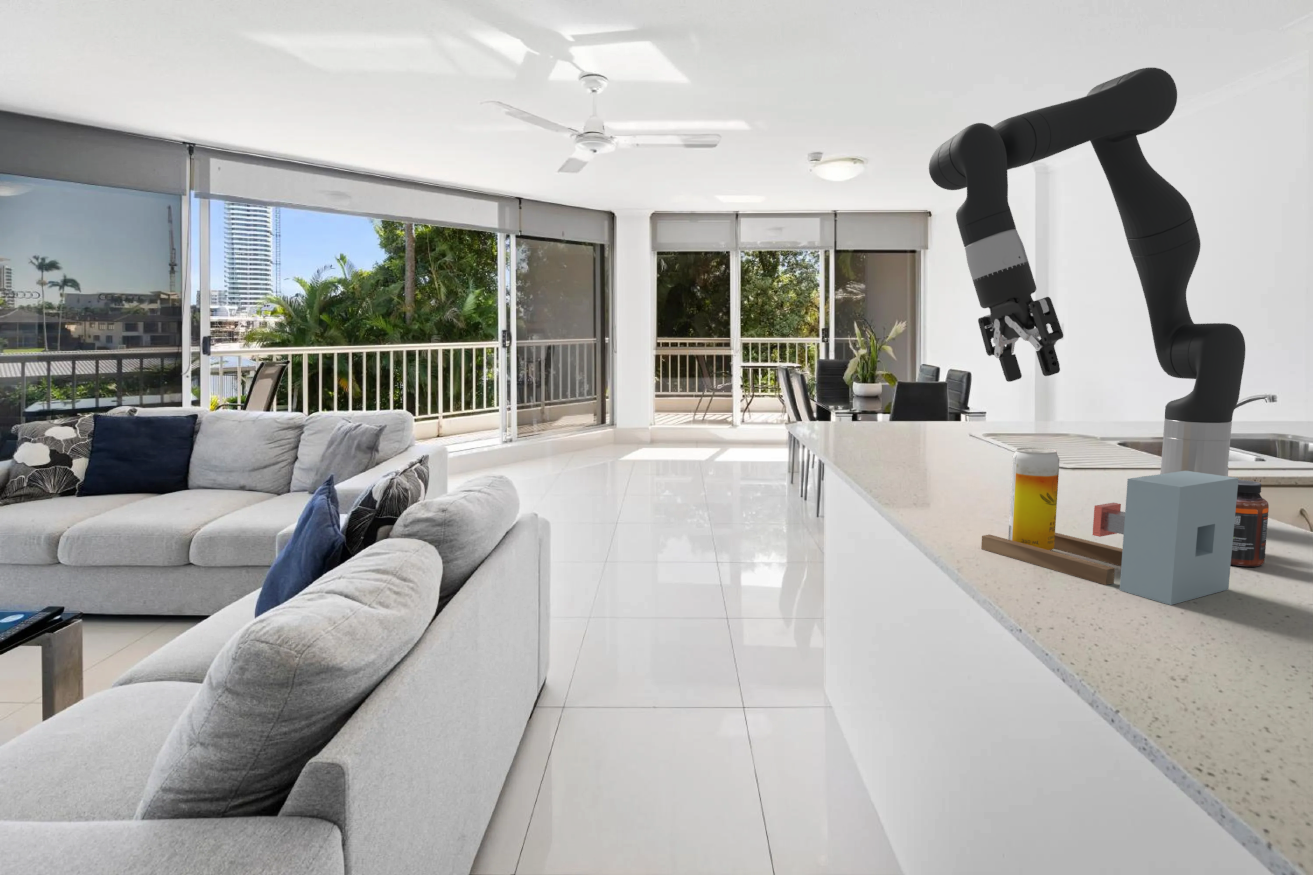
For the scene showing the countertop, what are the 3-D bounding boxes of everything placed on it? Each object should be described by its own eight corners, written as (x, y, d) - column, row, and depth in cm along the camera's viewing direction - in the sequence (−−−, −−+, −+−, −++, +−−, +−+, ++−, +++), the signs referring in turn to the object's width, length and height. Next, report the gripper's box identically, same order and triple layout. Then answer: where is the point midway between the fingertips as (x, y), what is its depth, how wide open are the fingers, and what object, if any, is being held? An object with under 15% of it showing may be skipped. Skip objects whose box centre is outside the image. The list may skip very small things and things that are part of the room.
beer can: (1059, 557, 107) (1066, 453, 105) (1013, 555, 108) (1019, 452, 106) (1046, 546, 113) (1052, 447, 111) (1003, 544, 114) (1008, 446, 112)
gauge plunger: (1111, 531, 102) (1113, 502, 101) (1191, 549, 93) (1193, 517, 92) (1092, 535, 100) (1094, 505, 99) (1171, 553, 91) (1174, 521, 90)
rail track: (1032, 539, 117) (1032, 527, 116) (1159, 572, 100) (1160, 557, 100) (981, 548, 112) (981, 535, 112) (1105, 584, 95) (1106, 569, 95)
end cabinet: (1172, 575, 99) (1181, 470, 97) (1228, 589, 93) (1238, 478, 91) (1115, 588, 93) (1123, 478, 92) (1170, 604, 88) (1180, 486, 86)
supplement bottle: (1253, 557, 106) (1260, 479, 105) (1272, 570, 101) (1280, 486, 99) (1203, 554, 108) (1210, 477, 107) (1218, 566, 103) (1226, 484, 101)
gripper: (1055, 248, 101) (1090, 364, 101) (993, 273, 115) (1024, 374, 115) (1006, 264, 100) (1041, 381, 100) (949, 287, 114) (981, 389, 114)
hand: (1032, 377), depth 108 cm, fingers open, 8 cm apart
